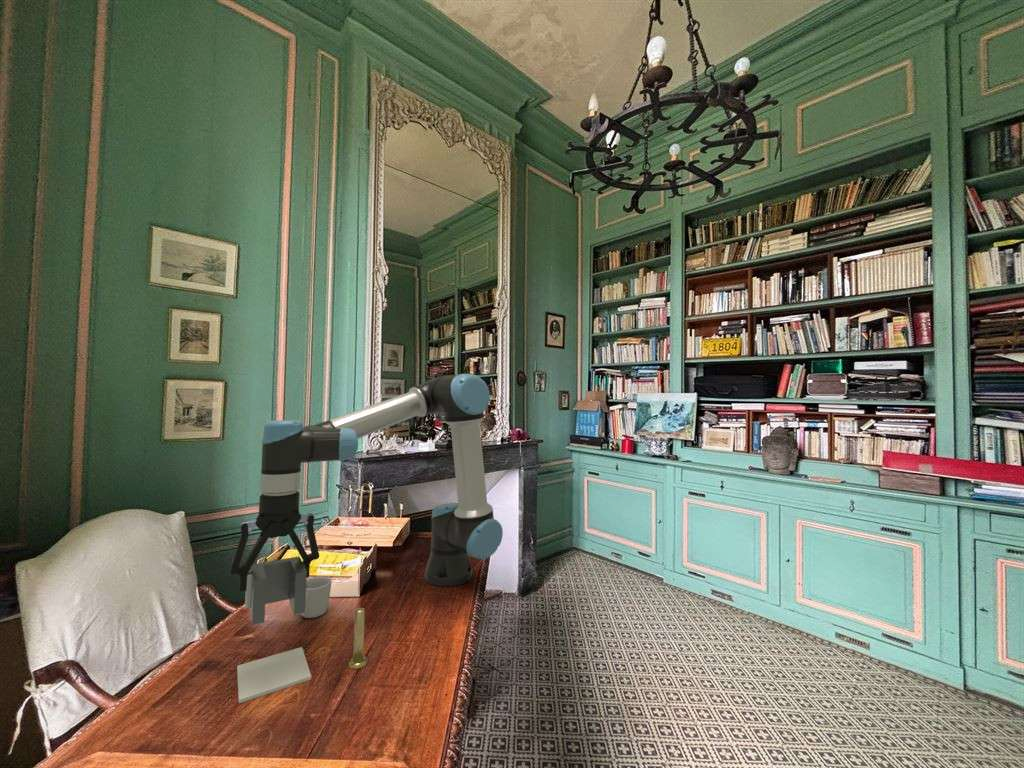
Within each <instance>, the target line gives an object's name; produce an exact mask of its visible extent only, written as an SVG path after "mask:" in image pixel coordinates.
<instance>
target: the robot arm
mask: <svg viewBox="0 0 1024 768" xmlns="http://www.w3.org/2000/svg"><path fill="white" fill-rule="evenodd" d="M490 399H491V394H490V390H489V387H488V385H487V383H486V382H485V380H483V379H482V378H481V377H480V376H478V375H476V374H469V373H459V374H452V375H441V376H437V377H436V378H433V379H430V380H428V381H426V382H423V383H421V384H418V385H415V386H413V387H410V388H409V390H408V392H406V393H402V394H400V395H398V396H394V397H392V398H389V399H386V400H382V401H380V402H377V403H373V404H371V405H368V406H365V407H363V408H360V409H357V410H354V411H351V412H348V413H346V414H345V413H344V414H342V415H340V416H336V417H333V418H330V419H328V420H326V421H322V422H319V423H317V424H312V425H310V424H309V425H306V426H304V423H303V421H301V420H288V419H287V420H285V419H284V420H283V419H282V420H280V419H278V420H275V419H274V420H269V421H267V422H266V423H265V424H264V426H263V435H262V441H261V444H262V448H261V453H262V454H261V469H260V470H261V471H260V483H259V484H260V486H259V492H261V494H260V495H259V503H258V505H259V506H258V515H257V517H256V519H255V520H250V521H246V520H243V521H241V523H240V536H239V538H238V542H237V544H236V548H235V551H234V555H233V557H232V560H231V564H230V567H229V572H230V575H239V591H240V592H244V591H245V594H244V595H245V597H244V607H245V609H250V597H251V578H252V574H251V566H252V565H253V564H255V561H256V559H257V558H258V556H259V554H260V552H261V551H262V549H263V547H264V545H265V544H266V543H267V541H268V540H269V539H275V538H278V537H287V536H289V537H290V539H291V541H292V544H293V545H294V547H295V548H296V550H297V552H298V554H299V556H300V558H301V561H302V563H303V565H304V567H305V569H306V571H307V578H306V579H308V578H310V570H311V569H310V567H311V566H310V565H311V563H312V562H313V561H314V560H318V559H319V558H320V553H319V552H320V551H319V548H318V543H317V539H316V538H317V537H316V534H315V530H314V529H315V528H314V523H315V516H314V515H313V514H312V513H311V512H308V514H307V513H306V514H301V513H300V496H301V495H300V492H299V490H300V489H301V473H302V472H301V471H302V463H305V464H307V463H314V462H315V463H318V462H337V461H339V462H342V461H345V460H346V461H348V460H351V459H353V458H355V456H356V455H357V453H358V447H359V439H361V438H363V437H366V436H368V435H371V434H374V433H376V432H379V431H382V430H384V429H387V428H389V427H392V426H395V425H396V424H399V423H402V422H404V421H406V420H409V419H411V418H415V417H418V418H419V417H420V418H424V417H427V416H429V415H433V414H444V423H445V424H447V425H448V426H449V428H450V431H451V432H450V434H451V442H452V443H451V444H452V445H451V446H452V452H453V454H452V455H453V462H454V463H453V464H454V473H455V484H456V494H457V502H447V503H441V504H438V505H435V506H434V507H433V508H432V512H431V518H430V519H431V538H430V539H431V541H430V543H431V545H430V549H431V550H430V555H429V558H428V560H427V563H426V567H425V571H424V580H425V581H426V582H427V583H428V584H430V585H433V586H437V587H454V586H459V585H463V584H465V582H466V583H467V581H468V580H469V581H471V579H472V578H473V566H472V563H471V559H470V557H471V558H475V559H478V560H486V559H487V558H489V557H491V556H493V555H494V554H495V553H496V551H498V548H499V546H501V544H502V540H503V535H504V534H503V531H504V530H503V526H502V525H501V523H500V522H499V521H498V519H495V518H494V508H493V506H492V505H491V504H490V503H489V502H488V498H487V488H486V486H487V485H486V476H485V467H484V456H483V445H482V435H481V423H482V421H483V420H484V419H485V414H484V412H485V411H486V410H487V408H488V406H489V404H490V401H491V400H490ZM300 521H302V524H303V525H304V526H305V529H306V534H307V539H308V543H309V548H310V553H307V551H306V549H305V547H304V546H303V544H302V542H301V540H300V539H299V537H298V535H297V533H296V531H295V528H296V527H297V526H298V524H299V523H300ZM255 527H257V528H258V529H259V530H260V534H259V535H258V538H257V540H256V542H254V545H253V547H252V548H251V550H250V552H249V553H248V555H247V557H246V558H245V560H244V562H243V564H241V561H242V557H243V555H244V551H245V548H246V545H247V542H248V538H249V533H252V532H253V530H254V528H255ZM240 564H241V565H240ZM471 577H472V578H471ZM469 581H468V582H469Z"/></svg>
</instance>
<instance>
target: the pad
mask: <svg viewBox="0 0 1024 768" xmlns="http://www.w3.org/2000/svg"><path fill="white" fill-rule="evenodd" d="M236 670H237V671H236V673H237V676H236V677H237V695H238V696H237V698H238V704H241V703H245V702H247V701H251V700H253V699H256V698H259V697H263V696H265V695H268V694H271V693H274V692H277V691H280V690H283V689H284V690H285V689H287V688H290V687H293V686H296V685H298V684H301V683H305V682H308V681H310V680H312V674H311V671H310V668H309V664H308V662H307V659H306V656H305V651H304V648H303V647H302V646H300V647H298V648H297V647H296V648H294V649H289V650H286V651H283V652H281V653H280V652H279V653H277V654H273V655H269V656H266V657H263V658H259V659H255V660H252V661H248V662H245V663H242V664H237V666H236Z"/></svg>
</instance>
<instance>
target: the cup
mask: <svg viewBox="0 0 1024 768" xmlns="http://www.w3.org/2000/svg"><path fill="white" fill-rule="evenodd" d="M332 583H333V582H332V579H331V578H330V577H329V576H322V575H321V576H320V575H319V576H313V577H308V578H306V600H305V612H304V613H300V614H296V615H299V616H301V617H303V618H305V619H314V618H318V617H320V616H322V615H324V614H325V613H326V612H327V611H328V608H329V603H330V602H329V601H330V595H331V590H332V589H331V588H332Z"/></svg>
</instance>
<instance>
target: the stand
mask: <svg viewBox="0 0 1024 768" xmlns="http://www.w3.org/2000/svg"><path fill="white" fill-rule="evenodd" d="M365 614H366V608H364V607H358V608H356V609H355V610H354V625H353V626H354V629H353V649H352V651H353V652H352V654H353V655H352V658H351V659H349V660H348V667H349V669H352V670H359V669H363V667H365V666H366V665H367V664H368V657H366V656H365V655H364V645H365V643H364V641H365V619H366V618H365Z"/></svg>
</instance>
